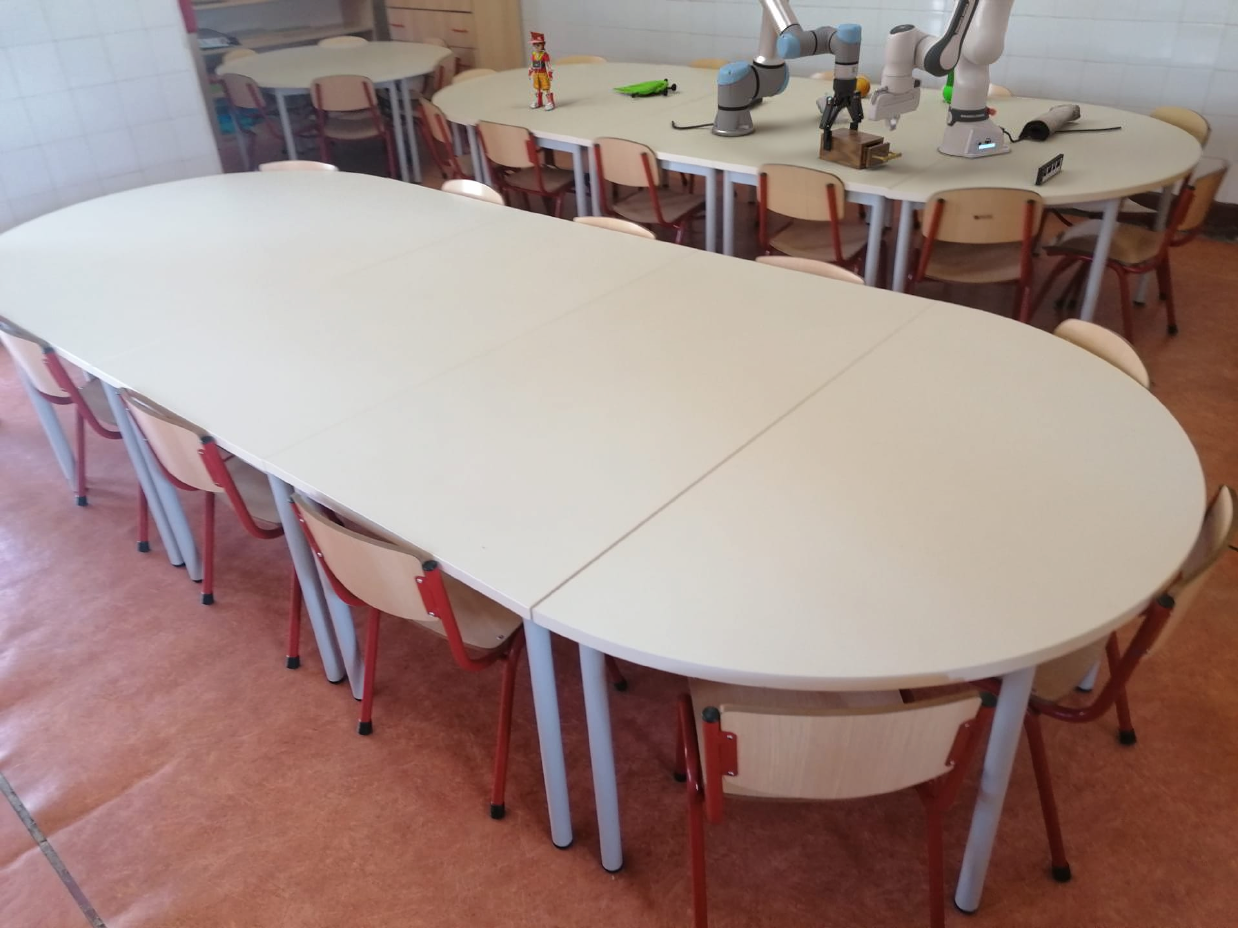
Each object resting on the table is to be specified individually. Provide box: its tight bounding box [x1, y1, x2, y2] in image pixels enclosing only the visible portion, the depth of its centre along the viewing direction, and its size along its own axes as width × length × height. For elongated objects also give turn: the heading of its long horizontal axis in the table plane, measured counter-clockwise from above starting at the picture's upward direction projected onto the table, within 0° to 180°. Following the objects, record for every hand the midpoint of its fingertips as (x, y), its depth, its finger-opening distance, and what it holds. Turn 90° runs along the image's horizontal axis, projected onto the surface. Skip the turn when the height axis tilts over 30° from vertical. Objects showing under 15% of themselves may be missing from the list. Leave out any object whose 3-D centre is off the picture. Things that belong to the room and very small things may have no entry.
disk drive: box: [749, 97, 764, 110], centre depth 367 cm, size 10×3×15 cm
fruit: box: [856, 77, 871, 98], centre depth 368 cm, size 8×8×8 cm
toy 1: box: [527, 31, 556, 111], centre depth 374 cm, size 12×9×30 cm
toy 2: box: [612, 78, 677, 99], centre depth 396 cm, size 28×5×30 cm
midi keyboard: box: [1035, 153, 1065, 186], centre depth 273 cm, size 18×1×5 cm, turn 138°
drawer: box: [862, 141, 903, 169], centre depth 293 cm, size 22×9×6 cm, turn 35°
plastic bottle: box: [942, 70, 954, 104], centre depth 348 cm, size 10×10×25 cm
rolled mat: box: [1017, 103, 1082, 142], centre depth 314 cm, size 30×9×10 cm
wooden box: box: [818, 126, 885, 170], centre depth 298 cm, size 18×10×8 cm, turn 35°
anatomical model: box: [815, 92, 850, 124], centre depth 341 cm, size 15×10×10 cm
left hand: (839, 146), depth 301 cm, fingers open, 11 cm apart
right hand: (890, 130), depth 282 cm, fingers closed
